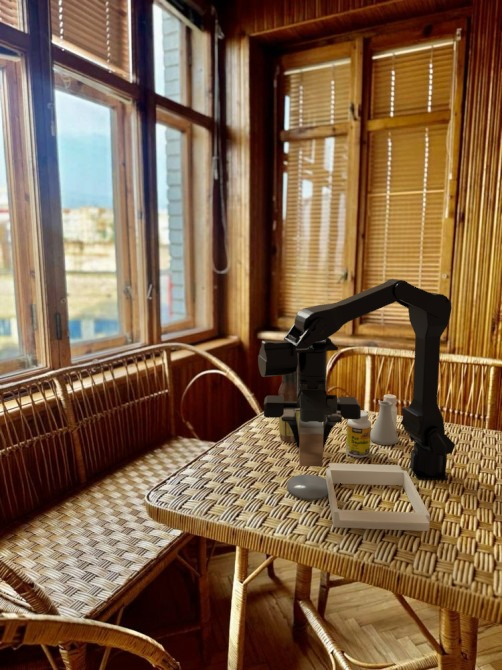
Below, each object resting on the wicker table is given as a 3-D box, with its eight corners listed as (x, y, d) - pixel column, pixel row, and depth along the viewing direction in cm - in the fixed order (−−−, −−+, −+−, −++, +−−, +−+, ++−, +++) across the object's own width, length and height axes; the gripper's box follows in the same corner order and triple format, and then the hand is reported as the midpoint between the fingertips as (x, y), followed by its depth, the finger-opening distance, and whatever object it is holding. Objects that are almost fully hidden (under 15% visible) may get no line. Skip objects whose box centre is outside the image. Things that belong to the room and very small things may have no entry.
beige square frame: (402, 478, 102) (403, 465, 101) (433, 539, 81) (434, 523, 80) (324, 475, 103) (325, 462, 103) (334, 535, 82) (335, 519, 82)
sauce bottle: (307, 436, 124) (308, 362, 120) (296, 445, 119) (297, 368, 115) (285, 431, 127) (286, 359, 124) (273, 439, 122) (274, 364, 118)
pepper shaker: (395, 433, 126) (397, 399, 124) (379, 431, 127) (381, 397, 125) (396, 427, 130) (398, 394, 128) (380, 426, 131) (382, 393, 129)
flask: (380, 447, 117) (383, 409, 115) (363, 437, 124) (365, 400, 122) (404, 443, 120) (407, 405, 118) (386, 432, 126) (388, 397, 125)
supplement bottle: (347, 458, 111) (349, 417, 109) (344, 448, 117) (345, 408, 115) (371, 458, 111) (373, 417, 109) (367, 448, 117) (369, 409, 115)
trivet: (329, 478, 102) (329, 475, 102) (333, 501, 93) (333, 497, 93) (286, 477, 102) (287, 473, 102) (287, 499, 94) (287, 495, 94)
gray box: (320, 452, 100) (321, 416, 98) (322, 466, 93) (323, 428, 92) (298, 451, 100) (299, 415, 98) (299, 466, 93) (300, 427, 92)
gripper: (262, 384, 86) (262, 464, 89) (367, 385, 85) (363, 467, 88) (264, 368, 97) (264, 440, 100) (357, 369, 95) (354, 442, 98)
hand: (310, 447), depth 96 cm, fingers closed on gray box, 4 cm apart
